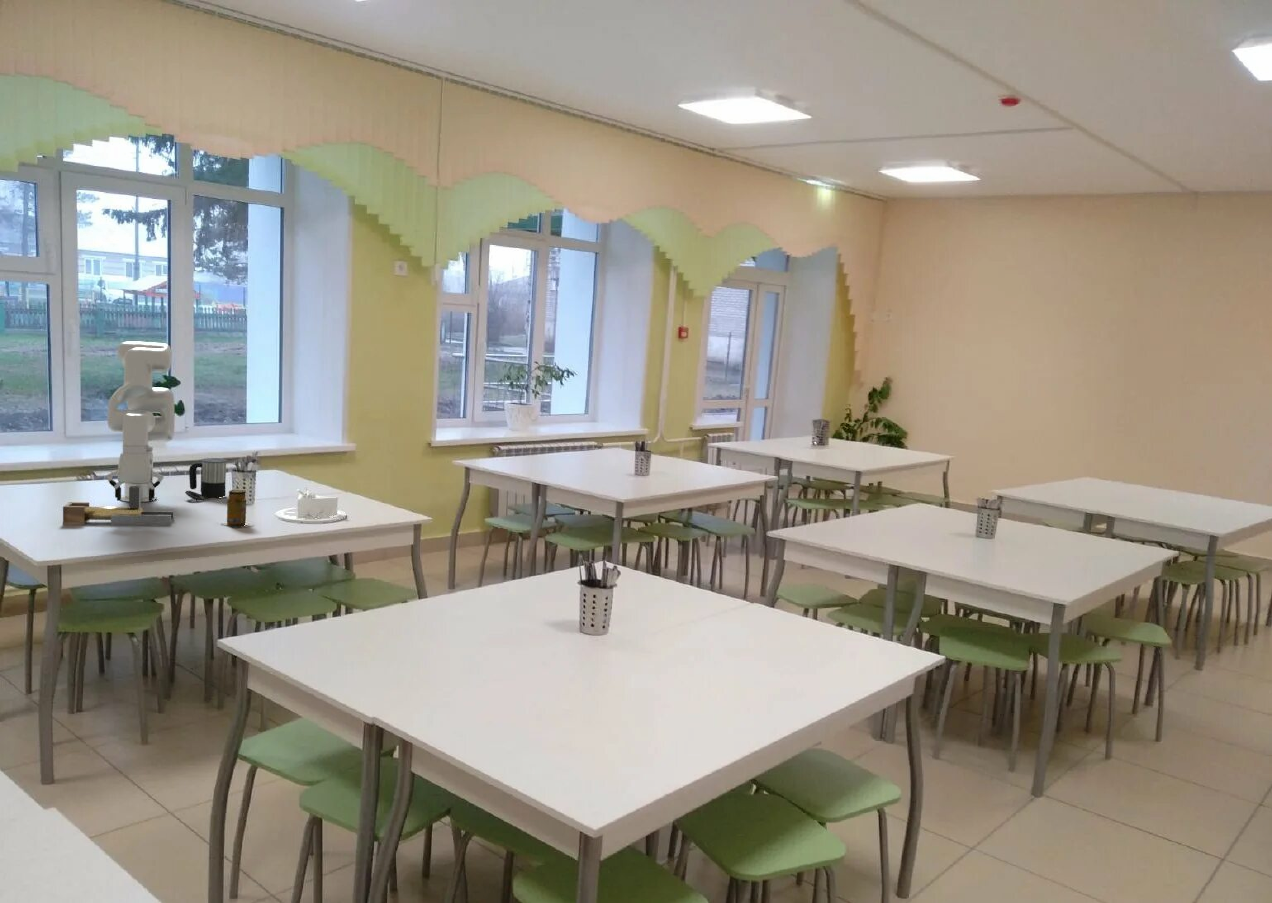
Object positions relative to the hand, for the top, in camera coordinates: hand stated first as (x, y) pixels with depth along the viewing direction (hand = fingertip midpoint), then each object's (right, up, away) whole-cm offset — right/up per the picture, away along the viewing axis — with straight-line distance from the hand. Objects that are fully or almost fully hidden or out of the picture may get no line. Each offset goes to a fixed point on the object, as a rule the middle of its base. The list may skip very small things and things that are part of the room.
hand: (134, 500), depth 324 cm
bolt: (-8, -8, -2) cm, 11 cm away
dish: (+49, -8, +31) cm, 59 cm away
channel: (+2, -8, +2) cm, 8 cm away
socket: (-17, -7, -5) cm, 19 cm away
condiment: (+31, -9, +8) cm, 34 cm away
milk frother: (+2, -2, +49) cm, 49 cm away
